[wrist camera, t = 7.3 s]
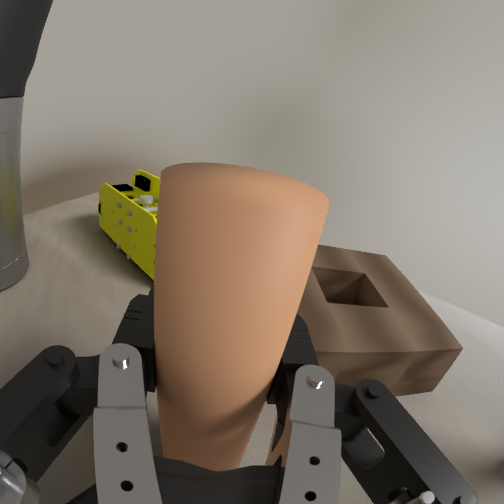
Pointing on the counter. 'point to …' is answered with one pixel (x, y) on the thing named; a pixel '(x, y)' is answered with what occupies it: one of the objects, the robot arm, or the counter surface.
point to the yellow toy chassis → (132, 217)
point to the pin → (225, 300)
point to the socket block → (373, 323)
